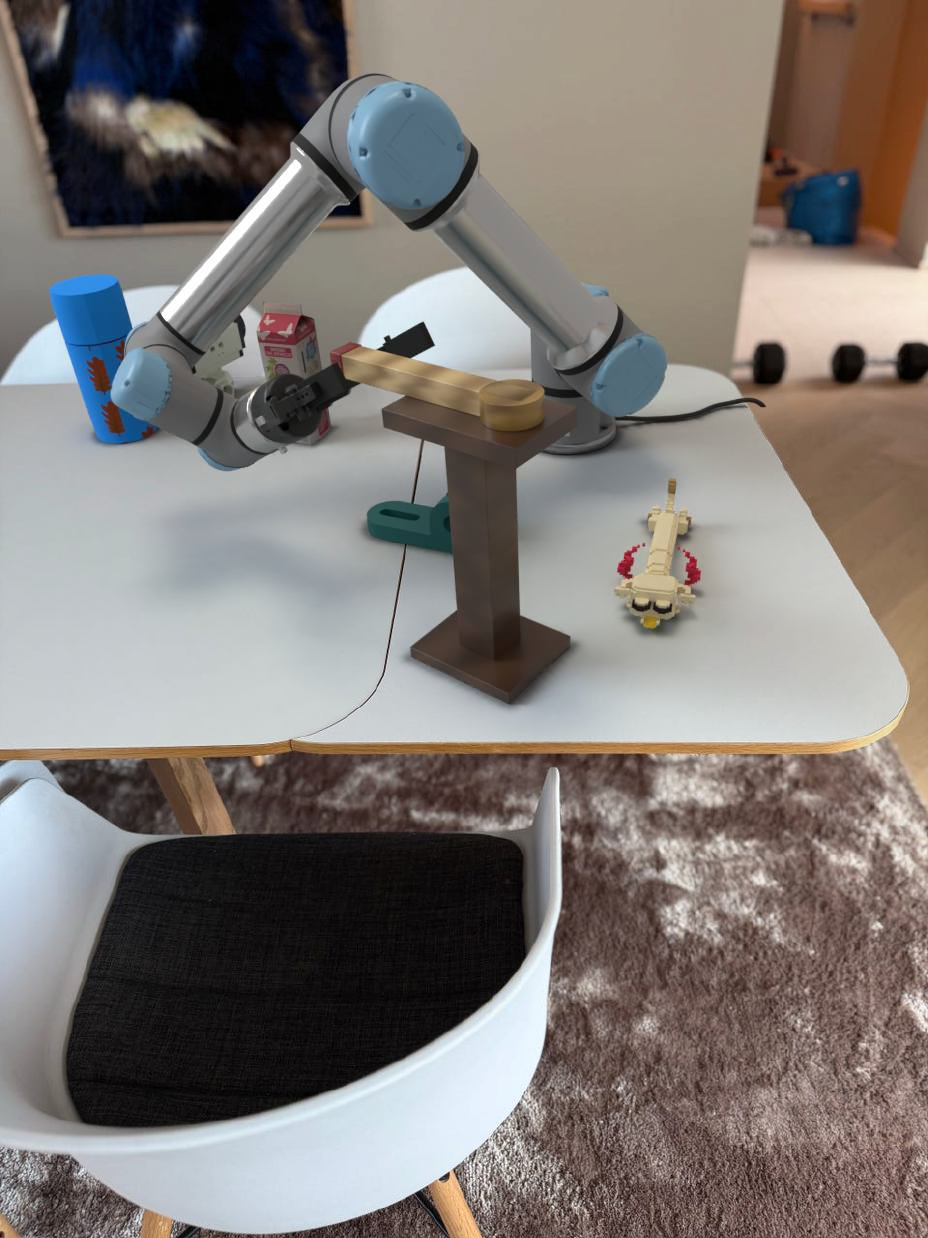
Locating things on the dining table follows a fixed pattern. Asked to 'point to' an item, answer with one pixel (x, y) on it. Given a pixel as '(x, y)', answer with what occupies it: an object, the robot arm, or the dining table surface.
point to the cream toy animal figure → (659, 568)
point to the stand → (485, 546)
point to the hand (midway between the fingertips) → (386, 354)
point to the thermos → (98, 350)
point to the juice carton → (290, 350)
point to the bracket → (412, 524)
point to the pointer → (446, 387)
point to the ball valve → (222, 357)
